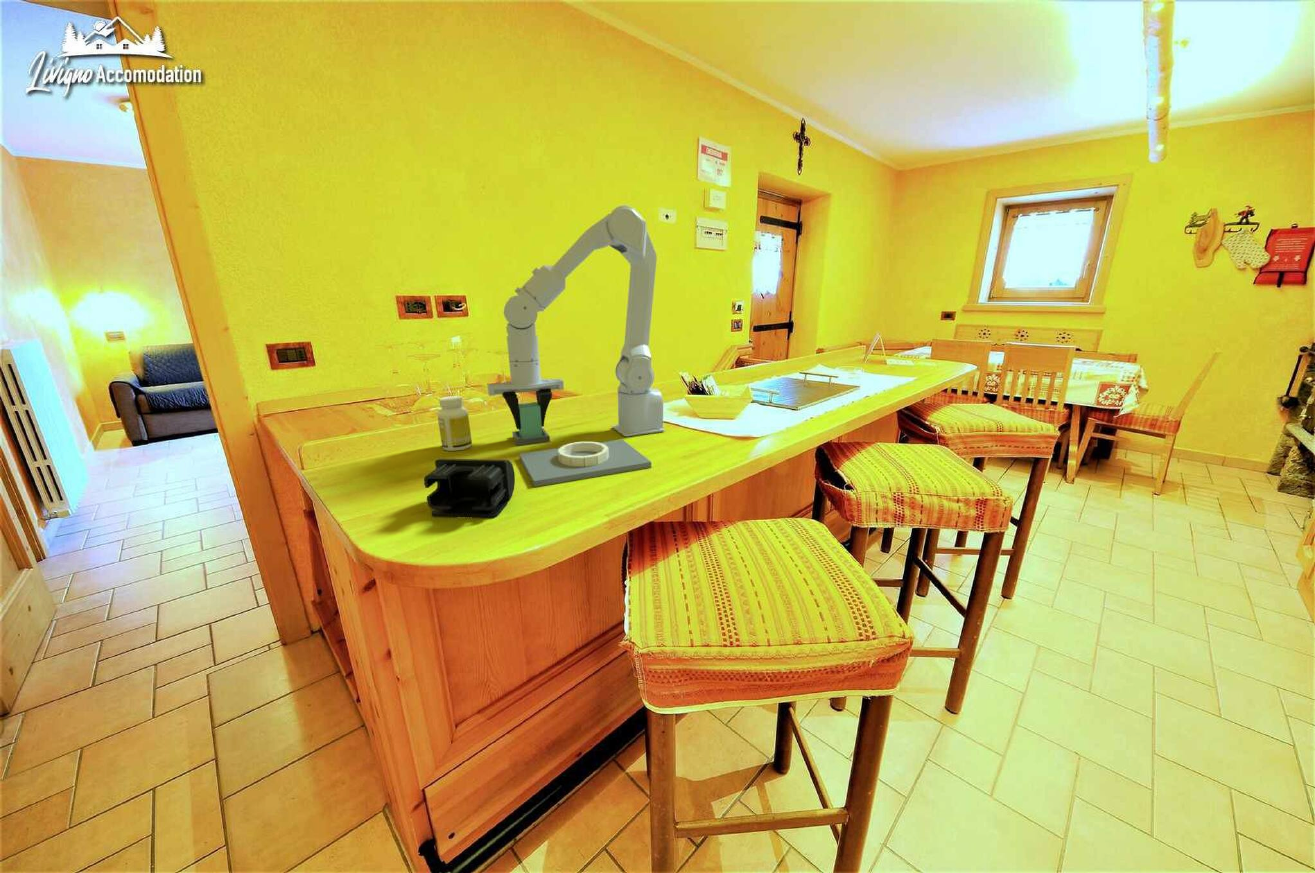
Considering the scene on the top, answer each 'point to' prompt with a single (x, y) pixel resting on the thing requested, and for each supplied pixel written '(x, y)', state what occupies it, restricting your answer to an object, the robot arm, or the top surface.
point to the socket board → (564, 473)
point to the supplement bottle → (454, 424)
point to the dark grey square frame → (531, 440)
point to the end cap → (470, 487)
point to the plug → (530, 420)
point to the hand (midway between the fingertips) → (530, 426)
